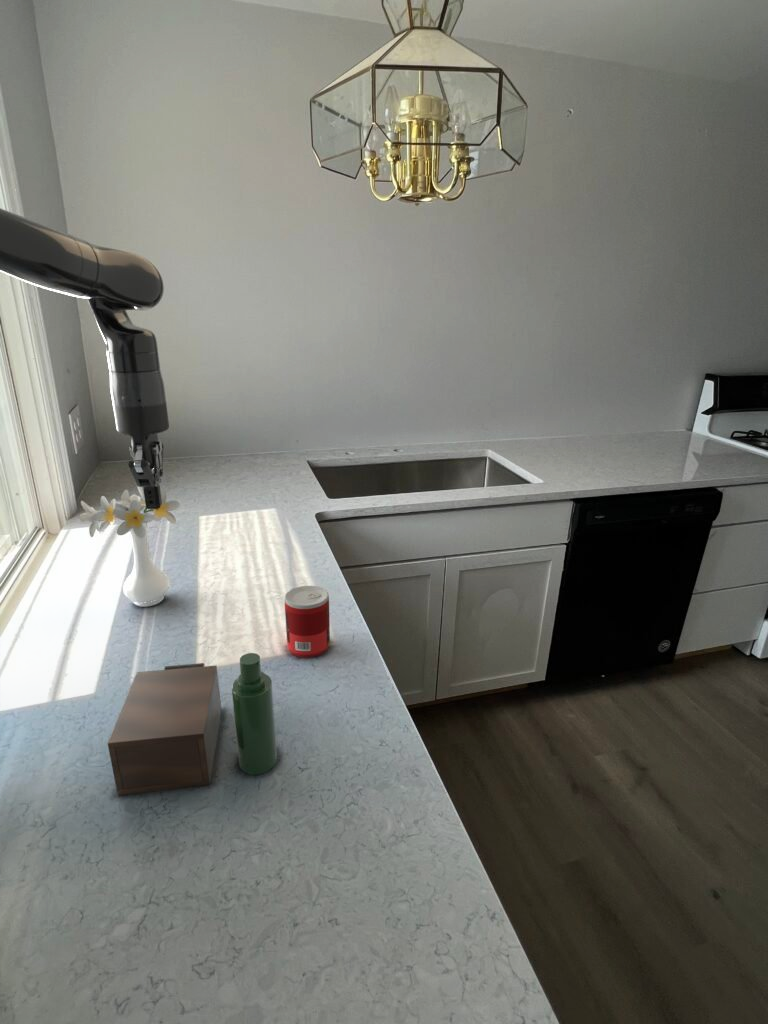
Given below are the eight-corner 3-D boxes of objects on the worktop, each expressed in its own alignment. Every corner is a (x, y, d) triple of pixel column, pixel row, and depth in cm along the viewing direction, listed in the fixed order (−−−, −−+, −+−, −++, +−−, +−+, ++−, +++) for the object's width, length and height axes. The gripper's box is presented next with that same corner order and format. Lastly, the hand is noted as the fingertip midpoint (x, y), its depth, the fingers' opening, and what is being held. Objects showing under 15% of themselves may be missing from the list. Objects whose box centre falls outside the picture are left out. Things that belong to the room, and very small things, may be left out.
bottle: (237, 777, 75) (227, 672, 70) (240, 748, 80) (231, 648, 74) (276, 772, 76) (269, 669, 70) (277, 744, 81) (270, 645, 75)
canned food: (337, 649, 104) (336, 597, 100) (298, 664, 99) (296, 610, 95) (318, 631, 110) (316, 581, 106) (280, 643, 105) (277, 592, 101)
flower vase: (101, 594, 122) (80, 485, 113) (189, 581, 128) (176, 477, 119) (94, 624, 111) (71, 506, 102) (192, 608, 117) (178, 496, 108)
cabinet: (144, 718, 86) (136, 671, 83) (221, 710, 88) (216, 665, 85) (117, 795, 72) (107, 743, 69) (209, 784, 74) (203, 733, 71)
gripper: (156, 407, 79) (170, 521, 85) (173, 393, 91) (185, 493, 97) (99, 408, 78) (118, 523, 84) (125, 394, 90) (140, 495, 96)
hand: (154, 507), depth 91 cm, fingers closed
